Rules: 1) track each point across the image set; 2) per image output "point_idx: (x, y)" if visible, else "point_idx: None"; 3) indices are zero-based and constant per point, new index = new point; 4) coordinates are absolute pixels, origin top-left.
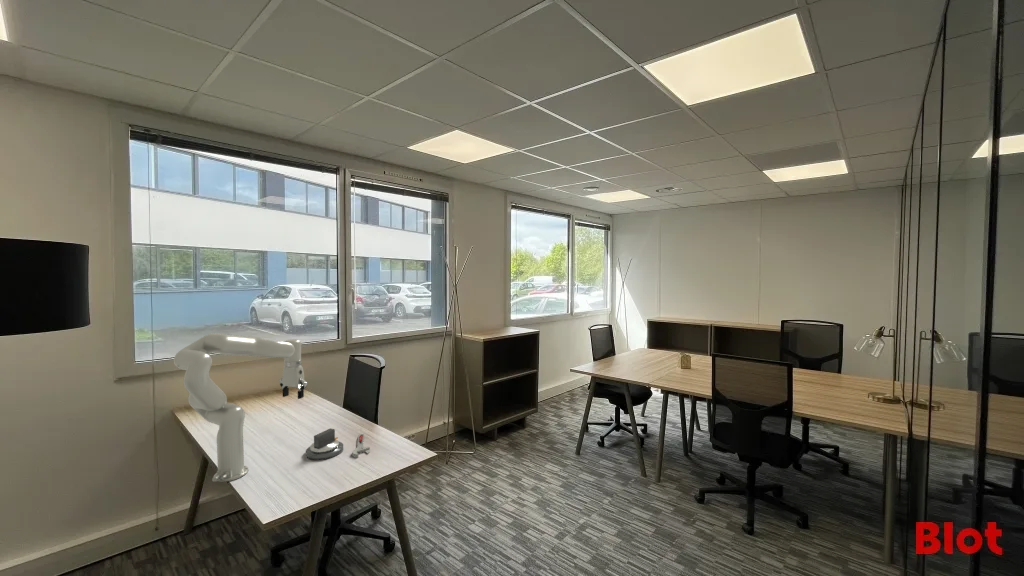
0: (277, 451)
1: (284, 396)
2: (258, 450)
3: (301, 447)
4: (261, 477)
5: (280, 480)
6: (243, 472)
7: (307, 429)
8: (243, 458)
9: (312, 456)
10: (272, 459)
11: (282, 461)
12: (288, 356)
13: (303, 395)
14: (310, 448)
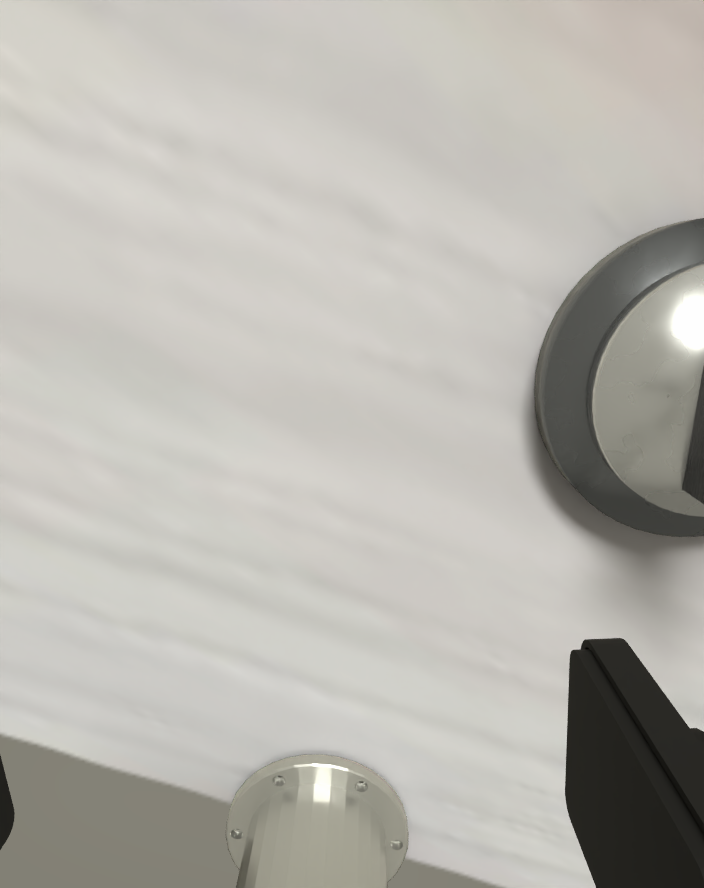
0: (286, 512)
1: (8, 811)
2: (128, 551)
3: (413, 387)
4: (527, 789)
5: None
6: (394, 820)
7: (91, 19)
8: (368, 881)
9: (700, 533)
10: (374, 614)
11: (474, 610)
12: None
13: (642, 673)
14: (647, 499)
